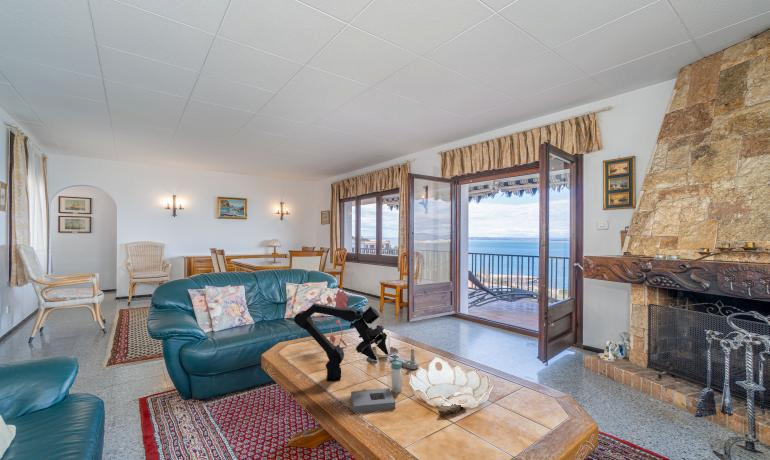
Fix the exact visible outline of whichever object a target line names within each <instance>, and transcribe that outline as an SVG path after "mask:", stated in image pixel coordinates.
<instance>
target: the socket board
mask: <svg viewBox="0 0 770 460" xmlns="http://www.w3.org/2000/svg"><path fill="white" fill-rule="evenodd" d="M350 393H351V394H350V395H351V396H350V397H351V402H352V408H353V412H354V413H360V412H361V413H363V412H372V411H373V412H374V411H383V410H392V409H396V401H395V398H394V396H393V394H392V393H393V392H392V390H391V389H390V388H389V387H388V388H387V387H386V388H376V389H368V390H367V389H365V390H355V391H353V390H351V392H350Z"/></svg>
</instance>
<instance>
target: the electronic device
mask: <svg viewBox="0 0 770 460" xmlns="http://www.w3.org/2000/svg"><path fill="white" fill-rule="evenodd" d="M415 356H416V355H415V349H413V348H412V349H410V358H406V357H403V356H399V357H396V358H395V361H398V362H401V363H402V367H404V368H407V369H410V370H416V369H418V368H419V362H417V361H416V360H415V358H416V357H415Z"/></svg>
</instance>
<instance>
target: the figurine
mask: <svg viewBox="0 0 770 460" xmlns="http://www.w3.org/2000/svg"><path fill="white" fill-rule="evenodd" d="M333 300H334V302H335V307H337V308H349V307H348V306H347V302H348V301H349V299H348V297H347V293H346V292H345V291H344V290H340V289H338V290H337V292H336V294H335V297H334V299H332V297H331V296H327V298H326V301H327V304H328V305H330V304H331V303H332V302H333ZM340 319H341V318H340V317H338V319H337V320H336V321H335V323H333V324H331V325H329V326H330V332H331V335H330V336H329V341H330V342H331V343H332V344H333V343H335V342H336V341H337V339H336V336H335V335H333V331H332V326H335V325H339V326H340V329H343V327H342V325H341V321H340ZM340 335H341V337H340V338H339V343H338V345H339V346H340V345H341V343H342V344H343V345H344V346H345V347H348V345H347V343H346V342H345V340H344V339H343V331H341V334H340ZM347 342H349V343H352V344H353V342H352V341H348V340H347ZM343 352H345V350H344V349H343Z"/></svg>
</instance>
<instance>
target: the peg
mask: <svg viewBox="0 0 770 460" xmlns="http://www.w3.org/2000/svg"><path fill="white" fill-rule="evenodd" d="M402 368H403V366H402V363H401V362H398V361H396V360H395V361H391V393H396V394H399V393H401V392H402V391H403V390H402V387H403V385H402V383H403V382H402V381H403V380H402V375H403V374H402Z"/></svg>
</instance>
